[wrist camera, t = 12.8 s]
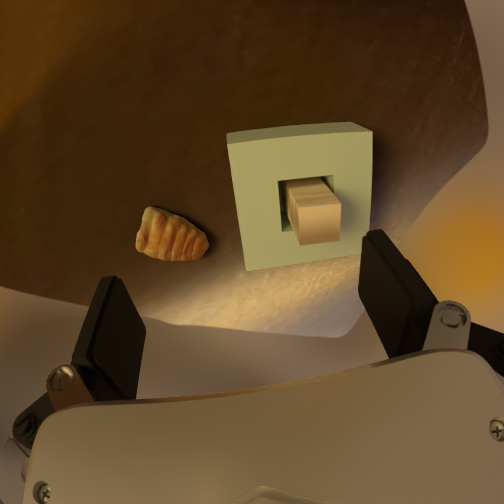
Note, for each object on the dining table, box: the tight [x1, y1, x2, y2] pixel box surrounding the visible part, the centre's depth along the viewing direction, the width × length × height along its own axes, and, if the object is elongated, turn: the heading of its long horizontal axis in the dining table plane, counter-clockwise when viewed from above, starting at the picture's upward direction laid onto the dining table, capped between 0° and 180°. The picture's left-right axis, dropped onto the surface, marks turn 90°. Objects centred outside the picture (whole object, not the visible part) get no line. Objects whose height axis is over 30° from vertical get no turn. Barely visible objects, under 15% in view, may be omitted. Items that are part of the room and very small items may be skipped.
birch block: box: [281, 176, 341, 246], centre depth 33 cm, size 4×4×10 cm
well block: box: [227, 122, 372, 271], centre depth 36 cm, size 15×15×6 cm
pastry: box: [136, 207, 209, 261], centre depth 39 cm, size 9×7×4 cm
